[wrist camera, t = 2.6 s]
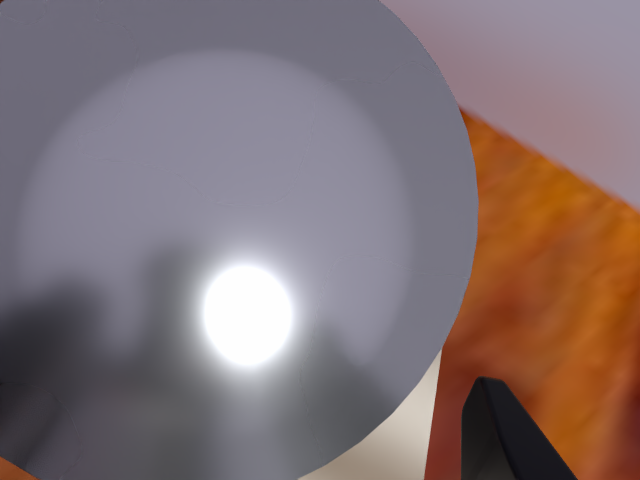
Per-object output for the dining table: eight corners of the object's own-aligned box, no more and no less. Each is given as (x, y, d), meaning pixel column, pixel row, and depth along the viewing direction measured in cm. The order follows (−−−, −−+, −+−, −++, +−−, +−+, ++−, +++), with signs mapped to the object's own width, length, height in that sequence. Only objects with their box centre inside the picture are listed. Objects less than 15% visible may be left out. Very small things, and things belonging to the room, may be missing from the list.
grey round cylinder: (390, 336, 18) (592, 312, 5) (232, 423, 17) (19, 640, 5) (308, 186, 19) (308, -141, 6) (156, 263, 18) (-196, 75, 6)
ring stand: (372, 784, 16) (386, 882, 13) (-6, 706, 16) (-74, 784, 14) (456, 202, 20) (481, 177, 17) (147, 143, 20) (120, 109, 17)
